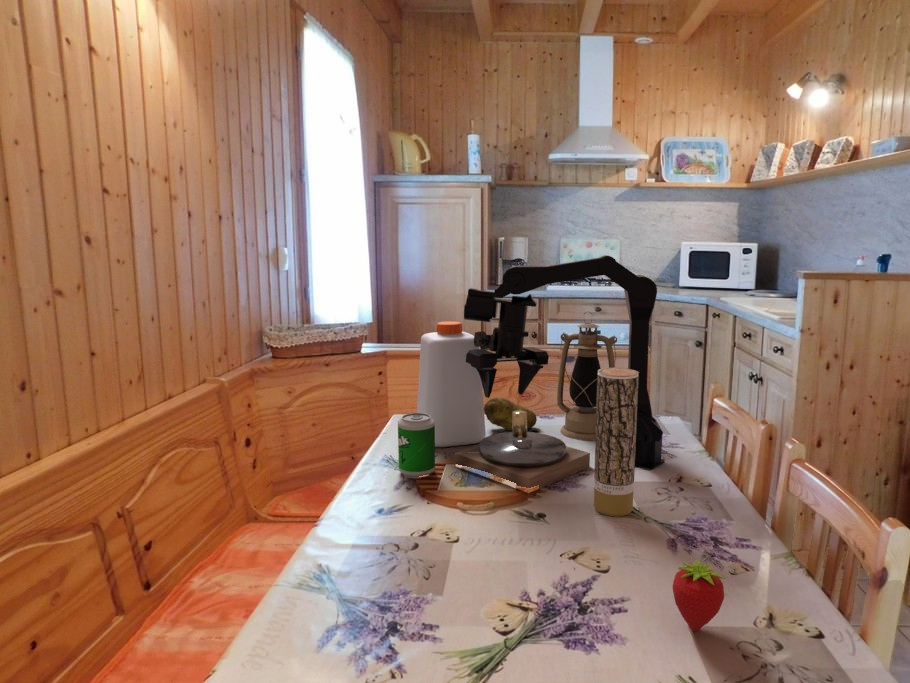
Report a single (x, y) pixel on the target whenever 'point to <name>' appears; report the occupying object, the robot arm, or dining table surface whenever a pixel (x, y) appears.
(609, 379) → the paper tube
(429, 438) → the soda can
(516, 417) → the handwheel
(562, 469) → the wheel base
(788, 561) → the dining table surface
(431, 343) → the plastic bottle
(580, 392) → the lantern
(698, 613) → the strawberry
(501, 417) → the potato
